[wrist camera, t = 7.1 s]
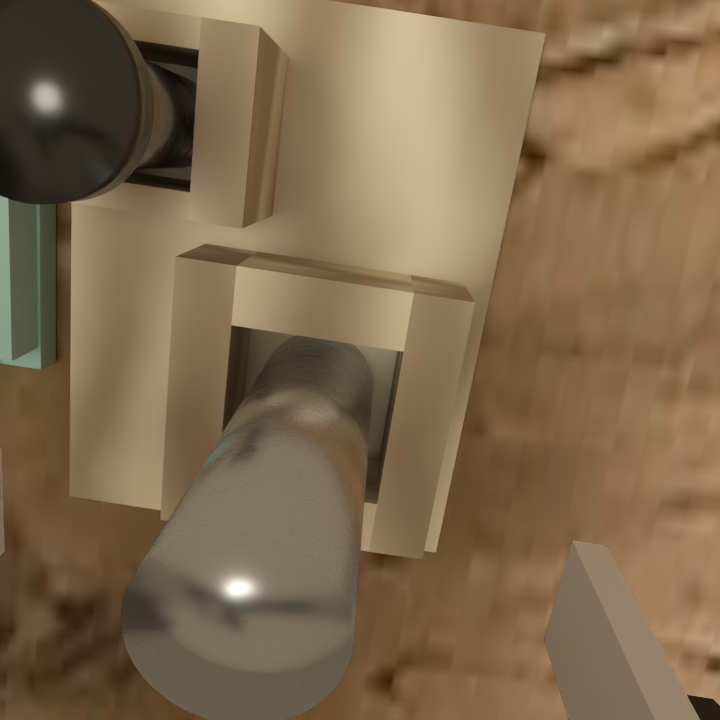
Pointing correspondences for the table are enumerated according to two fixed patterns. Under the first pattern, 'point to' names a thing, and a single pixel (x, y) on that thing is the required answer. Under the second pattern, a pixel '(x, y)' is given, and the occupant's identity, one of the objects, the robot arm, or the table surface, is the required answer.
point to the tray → (27, 284)
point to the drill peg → (263, 548)
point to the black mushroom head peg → (83, 104)
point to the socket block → (299, 242)
